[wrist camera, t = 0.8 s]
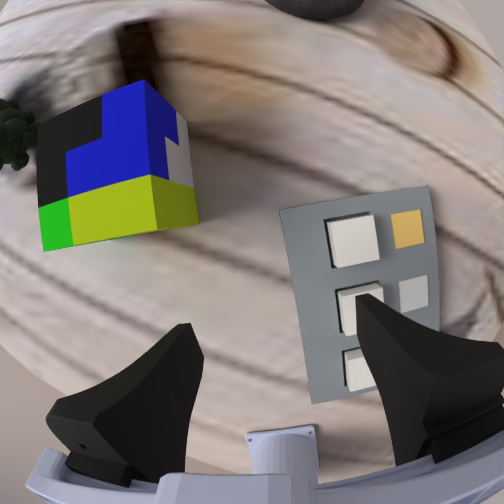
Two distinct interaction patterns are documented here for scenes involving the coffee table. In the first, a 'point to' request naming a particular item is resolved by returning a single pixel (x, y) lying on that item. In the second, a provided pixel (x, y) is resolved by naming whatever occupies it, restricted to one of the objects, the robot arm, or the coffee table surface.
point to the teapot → (317, 7)
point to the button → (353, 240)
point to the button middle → (349, 305)
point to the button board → (359, 275)
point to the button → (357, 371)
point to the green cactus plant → (15, 134)
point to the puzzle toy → (114, 169)
